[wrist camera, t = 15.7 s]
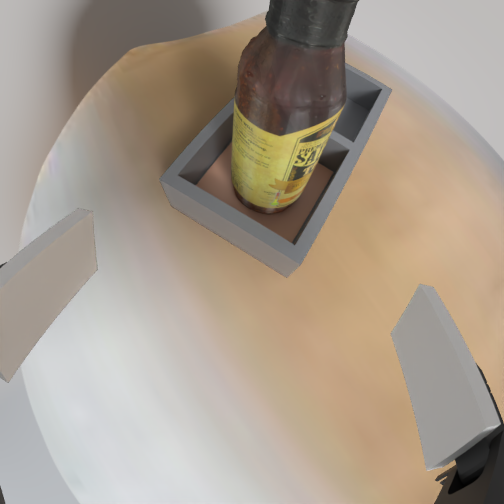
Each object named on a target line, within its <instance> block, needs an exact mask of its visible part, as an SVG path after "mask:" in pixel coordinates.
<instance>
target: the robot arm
mask: <svg viewBox="0 0 504 504" xmlns="http://www.w3.org/2000/svg"><path fill="white" fill-rule="evenodd" d="M97 270H98V269H97V260H96V250H95V239H94V224H93V211H88V210H84V209H79V208H78V209H77V210H75V211H74V212H72V213H71V214H69V215H68V216H66V217H65V218H64V219H62V220H61V221H59V222H58V223H57V224H55V225H54V226H52V227H51V228H50V229H48V230H47V231H46V232H44V233H43V234H42V235H40V236H39V237H38V238H37V239H35V240H34V241H33V242H31V243H30V244H29V245H28V246H26V247H25V248H24V249H23V250H21V251H20V252H19V253H18V254H16V255H15V256H14V257H13V258H12V259H10V260H9V261H8V262H6V263H4V264H2V265H0V378H2V379H3V380H5V381H6V382H7V383H9V381H10V380H11V378H12V377H13V375H14V374H15V372H16V371H17V370H18V368H19V367H20V365H21V364H22V362H23V361H24V360H25V358H26V357H27V355H28V354H29V353H30V351H31V350H32V349H33V347H34V346H35V345H36V343H37V342H38V341H39V339H40V338H41V337H42V335H43V334H44V333H45V331H46V330H47V329H48V328H49V326H50V325H51V324H52V322H53V321H54V320H55V319H56V317H57V316H58V315H59V314H60V313H61V311H62V310H63V309H64V308H65V306H66V305H67V304H68V303H69V302H70V300H71V299H72V298H73V297H74V296H75V295H76V293H77V292H78V291H79V290H80V289H81V288H82V286H83V285H84V284H85V283H86V282H87V281H88V280H89V279H90V277H91V276H92V275H93V274H94V273H95V272H96V271H97ZM391 336H392V339H393V342H394V345H395V348H396V352H397V355H398V358H399V361H400V364H401V368H402V371H403V374H404V378H405V381H406V384H407V388H408V392H409V395H410V399H411V403H412V407H413V410H414V414H415V418H416V423H417V427H418V431H419V436H420V440H421V445H422V450H423V455H424V460H425V465H426V471H427V470H432V469H437V468H442V467H444V466H445V465H447V464H449V463H450V462H452V461H453V460H455V461H456V465H455V466H453V467H452V468H450V469H449V470H447V471H445V472H444V473H442V474H440V475H439V476H438V477H437V478H436V479H435V481H439V480H440V479H442V478H444V477H446V476H447V478H446V479H444V480H443V481H441V482H440V484H442V485H443V487H442V489H441V491H440V493H439V495H438V497H437V499H436V501H435V503H434V504H504V423H503V420H502V417H501V415H500V412H499V410H498V407H497V405H496V402H495V400H494V397H493V395H492V393H490V392H491V390H490V388H489V385H488V384H487V381H486V379H485V376H484V374H483V372H482V370H481V369H480V368H479V366H478V365H477V364H476V363H475V361H474V359H473V357H472V355H471V353H470V351H469V349H468V347H467V345H466V343H465V341H464V339H463V337H462V335H461V334H460V332H459V330H458V328H457V326H456V324H455V323H454V321H453V319H452V317H451V315H450V314H449V312H448V310H447V309H446V307H445V305H444V303H443V302H442V300H441V298H440V297H439V295H438V294H437V292H436V290H435V289H434V287H431V286H427V285H423V284H419V286H418V288H417V290H416V292H415V293H414V295H413V297H412V299H411V301H410V302H409V304H408V306H407V307H406V309H405V311H404V313H403V314H402V316H401V318H400V319H399V321H398V323H397V324H396V326H395V327H394V329H393V331H392V332H391ZM0 504H5V501H4V497H3V494H2V490H1V487H0Z"/></svg>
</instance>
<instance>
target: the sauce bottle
mask: <svg viewBox="0 0 504 504" xmlns="http://www.w3.org/2000/svg"><path fill="white" fill-rule="evenodd" d="M358 1H359V0H270V6H269V11H268V12H267V15H266V18H265V20H266V27H265V28H264V29H263V30H262V31H261V32H260V33H259V34H258V36H256V37H253V38H252V39H251V40H250V42H249V43H248V45H247V46H246V47H245V49H244V50H243V52H242V55H241V59H240V62H239V65H238V79H237V80H238V83H237V88H236V91H235V97H234V115H233V136H232V157H231V178H232V183H233V188H234V191H235V194H236V196H237V198H238V200H240V202H241V203H242V204H243V205H245V206H246V207H247V208H249V209H250V210H253V211H255V212H258V213H262V214H274V213H279V212H282V211H284V210H285V209H287V208H288V207H290V206H291V205H292V204H293V203H294V202H295V201H296V200H297V199H298V198H299V197H300V195H301V194H302V192H303V190H304V188H305V186H306V184H307V182H308V180H309V178H310V176H311V174H312V172H313V170H314V168H315V166H316V164H317V163H318V160H319V158H320V156H321V154H322V152H323V149H324V147H325V146H326V144H327V142H328V139H329V137H330V135H331V132H332V130H333V128H334V126H335V124H336V122H337V120H338V118H339V116H340V114H341V111H342V109H343V107H344V105H345V103H346V99H347V89H346V70H345V46H344V42H345V40H346V38H347V31H348V28H349V25H350V22H351V19H352V17H353V15H354V12H355V8H356V5H357V2H358Z"/></svg>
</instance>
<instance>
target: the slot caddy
mask: <svg viewBox="0 0 504 504" xmlns="http://www.w3.org/2000/svg"><path fill="white" fill-rule="evenodd" d="M345 70H346V89H347V99H346V103H345V105H344V107H343V109H342V111H341V114H340V116H339V118H338V120H337V122H336V124H335V126H334V128H333V130H332V132H331V135H330V137H329V139H328V142H327V144H326V146H325V147H324V149H323V152H322V154H321V156H320V158H319V160H318V163H317V164H316V166H315V168H314V170H313V172H312V174H311V176H310V178H309V180H308V182H307V184H306V186H305V188H304V190H303V192H302V194H301V195H300V197H299V198H298V199H297V200H296V201H295V202H294V203H293V204H292V205H291V206H290V207H288V208H287V209H285V210H284V211H282V212H279V213H274V214H262V213H258V212H255V211H253V210H250V209H249V208H247V207H246V206H245V205H243V204H242V203H241V202H240V200H238V198H237V196H236V194H235V191H234V188H233V183H232V178H231V157H232V136H233V115H234V98H233V99H232V100H231V101H230V102H229V103H228V104H227V105H226V106H225V107H224V108H223V109H222V110H221V111H220V112H219V113H218V114H217V115H216V116H215V117H214V118H213V119H212V120H211V121H210V122H209V123H208V124H207V125H206V126H205V127H204V129H203V130H202V131H201V132H200V133H199V134H198V135H197V136H196V137H195V138H194V139H193V141H192V142H191V143H190V144H189V145H188V146H187V147H186V148H185V149H184V151H183V152H182V153H181V154H180V155H179V156H178V157H177V159H176V160H175V161H174V162H173V163H172V164H171V166H170V167H169V168H168V169H167V170H166V172H165V173H164V174H163V175H162V176H161V178H160V179H159V180H160V182H161V184H162V187H163V189H164V191H165V194H166V196H167V198H168V200H169V203H170V205H171V206H172V207H173V208H175V209H177V210H178V211H180V212H181V213H183V214H185V215H186V216H188V217H190V218H191V219H193V220H194V221H196V222H198V223H199V224H201V225H202V226H204V227H206V228H207V229H209V230H210V231H212V232H214V233H215V234H217V235H218V236H220V237H222V238H223V239H225V240H227V241H228V242H230V243H231V244H233V245H235V246H236V247H238V248H239V249H241V250H243V251H244V252H246V253H247V254H249V255H251V256H252V257H254V258H256V259H257V260H259V261H260V262H262V263H264V264H265V265H267V266H268V267H270V268H272V269H273V270H275V271H277V272H278V273H280V274H281V275H283V276H285V277H286V278H287V277H288V276H289V275H290V274H292V273H293V272H294V271H295V270H296V269H297V268H298V267H299V266H300V265H301V263H302V261H303V260H304V258H305V256H306V255H307V253H308V251H309V249H310V248H311V246H312V244H313V242H314V240H315V239H316V237H317V235H318V233H319V232H320V230H321V228H322V226H323V224H324V223H325V221H326V219H327V217H328V215H329V213H330V212H331V210H332V208H333V206H334V204H335V202H336V201H337V199H338V197H339V195H340V193H341V191H342V189H343V187H344V186H345V184H346V182H347V180H348V178H349V176H350V174H351V172H352V170H353V168H354V166H355V165H356V163H357V161H358V159H359V157H360V155H361V153H362V151H363V149H364V147H365V145H366V143H367V141H368V139H369V137H370V135H371V133H372V131H373V129H374V127H375V125H376V123H377V121H378V119H379V116H380V114H381V112H382V110H383V108H384V106H385V104H386V102H387V100H388V98H389V95H390V93H391V91H392V89H390V88H389V87H387V86H386V85H384V84H382V83H381V82H379V81H377V80H376V79H374V78H372V77H370V76H369V75H367V74H365V73H363V72H362V71H360V70H358V69H356V68H354V67H352V66H350V65H348V64H347V63H345Z"/></svg>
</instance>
